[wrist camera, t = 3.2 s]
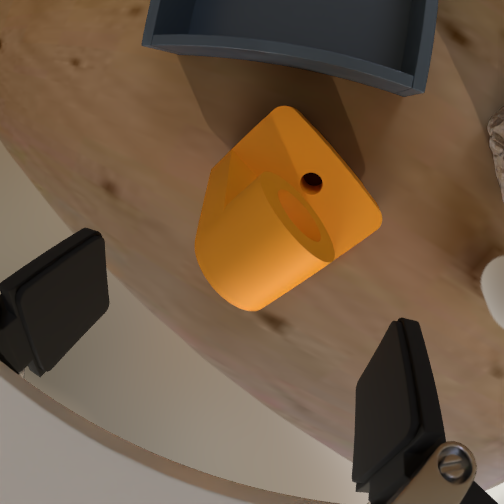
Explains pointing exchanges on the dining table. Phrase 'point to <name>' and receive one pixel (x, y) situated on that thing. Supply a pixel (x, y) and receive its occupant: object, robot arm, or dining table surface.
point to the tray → (306, 36)
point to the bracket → (278, 211)
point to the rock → (498, 145)
